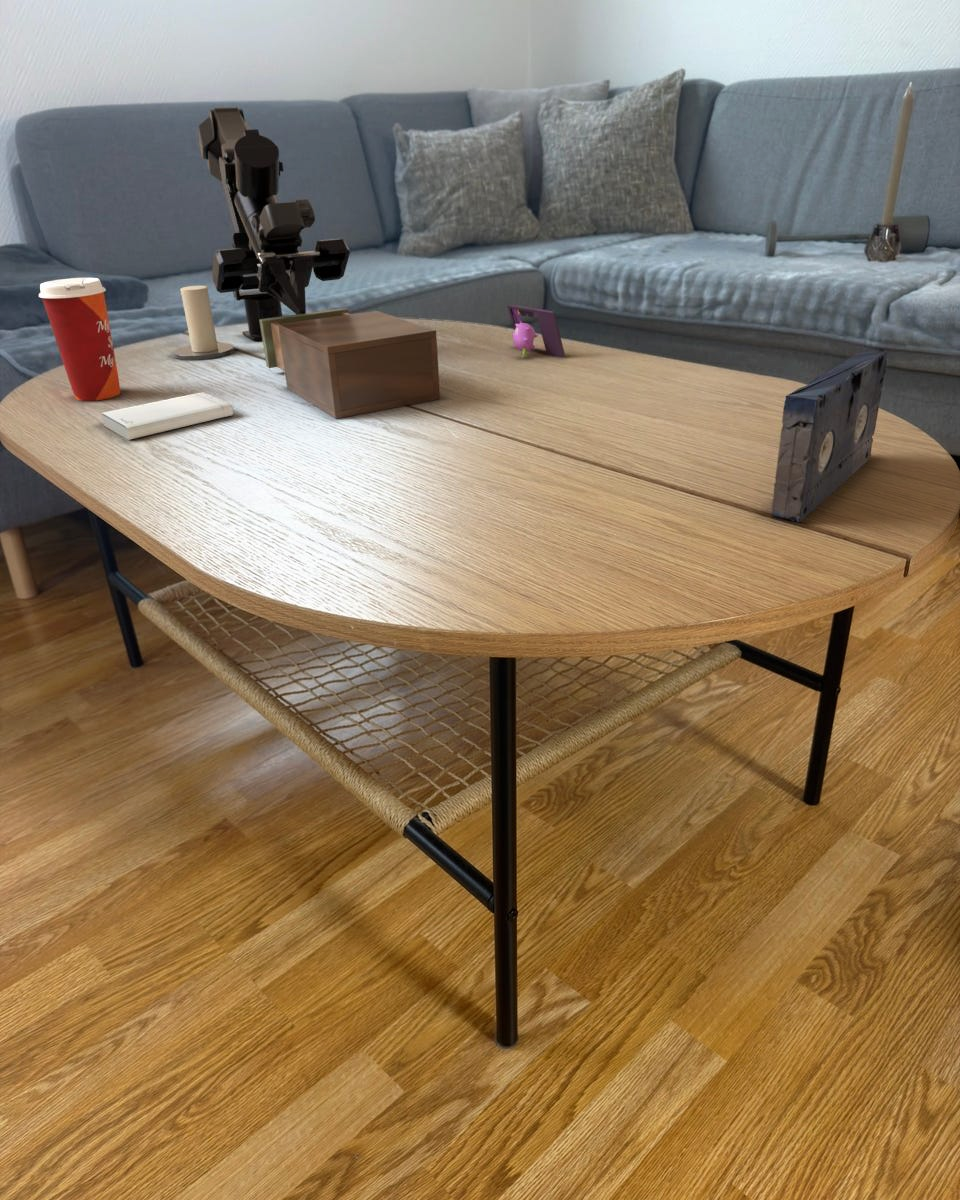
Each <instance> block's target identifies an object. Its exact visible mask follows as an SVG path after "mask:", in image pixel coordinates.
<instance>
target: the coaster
mask: <svg viewBox="0 0 960 1200" xmlns="http://www.w3.org/2000/svg"><path fill="white" fill-rule="evenodd" d="M217 345H218V349H217V350H215V351H211V352H203V353H197V352H193V351H192V347H191V344H189V345H184V346H180V347H178V348H176V349H174V350H173V351H172V356H173V358H175V359H178V360H183V361H184V360H185V361H200V360H209V359H217V358H222V357H226V356H229V355H230V354H233V353H234V352H235V346H234V345H233V344H230V343H227V342H217Z"/></svg>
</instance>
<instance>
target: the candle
mask: <svg viewBox="0 0 960 1200" xmlns="http://www.w3.org/2000/svg"><path fill="white" fill-rule="evenodd" d="M208 289H209V288H208V286H207V285H189V286H184V287H183V286H182V287H181V288H180V294H181V299H182V305H183V310H184V314H185V315H184V316H185V320H186V325H187V330H188V336H189V341H190V345H191V347H192V351H193V352H197V353H203V352H211V351H215V350H217V349H218V345H217V343H218V341H217V333H216V328H215V324H214V317H213V312H212V306H211V302H210V300H211V299H210V294H209V290H208Z"/></svg>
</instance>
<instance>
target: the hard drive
mask: <svg viewBox="0 0 960 1200" xmlns="http://www.w3.org/2000/svg"><path fill="white" fill-rule="evenodd" d="M233 415H234V408H233V405H232V404H231V403H230V402H228V401H226V400H224V399H221V398H219V397H217V396H214V395H212V394H209V393H206V392H203V391H201V392H197V393H191V394H186V395H183V396H177V397H172V398H168V399H163V400H162V399H161V400H157V401H153V402H149V403H148V402H147V403H144V404H139V405H134V406H129V407H124V408H118V409H114V410H108V411H105V412H101V413H100V417H101V421H102V425H103V426H105V427H106V428H108V429H110V430H111V431H112V432H115V433H116V434H118V435H119V436H122V437H123V438H124V439H126V440H128V441H129V440H134V439H137V438H142V437H147V436H151V435H155V434H159V433H164V432H167V431H172V430H177V429H180V428H183V427H189V426H192V425H196V424H201V423H205V422H209V421H214V420H218V419H222V418H226V417H231V416H233Z"/></svg>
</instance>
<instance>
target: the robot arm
mask: <svg viewBox="0 0 960 1200" xmlns="http://www.w3.org/2000/svg"><path fill="white" fill-rule="evenodd" d="M208 111H209V112H208V114H209V116H208V117H207V118H206V119H204V121H202V123H200V124H199V125H198V145H199V151H200V155H201V160H202V161H206V164H207V167H208V168H207V169H208V171H209V174H210V175H212V176H213V177H214V178H215V179H216V180H218V181H219V182H221V183H222V187H223V191H224V194H225V198H226V203H227V207H228V210H229V214H230V217H231V222H232V226H233V229H234V233H233V235H232V244H231V248H223V249H216V251H214V254H213V260H212V272H211V275H212V276H211V277H212V281H213V282H212V283H213V284H214V286H215V289H216V292H218V293H220V294H225V293H232V295H233V298H234V299H235V300H236V301H237V302H238V301H242V300H243V303H244V309H245V316H246V321H247V328H248V330H244V331H242V335H243V336H245V337H247V338H248V339H250V340H252V341H263V340H262V333H261V327H260V319H267V318H275V317H282V316H283V309H282V304H283V305H284V306H285V307H287V309H289V310H290V311H292V312H293V313H294V315H297V314H305V313H307V307H306V305H307V304H306V303H307V302H306V288H308V287H309V285H310V282H311V278H312V273H313V274H314V276H315V278H316V279H318V280H320V281H322V282H329V281H335V280H336V281H337V280H340V279H342V278H343V277H344V276H345V272H346V268H347V264H348V261H349V257H350V254H351V251H350V248H349V246H348V244H347V242H346V241H345V240H344V239H343V238H330V239H319V240H316V245H315V249H314V250H307V251H299V249H298V248H299V247H302V244H303V239H302V236H301V233H302V231H303V230H305V229H306V228H308V229H309V228H312V226H313V224H314V223H315V221H316V215H315V212H314V207H313V206H312V204H311V202H310V201H309V199H307V198H306V199H296V200H295V201H291V202H278V200H277V198H276V195H277V196H278V193H279V189H280V186H279V185H280V177H281V173H283V172H284V165H283V161H280V149H279V147H278V145H276V144H275V142H274V141H273V140H272V139H270V138H268V137H267V136H263V135H261V134H260V131H259V129H258V128H257V129H254V128H252V126H251V123H250V122H249V121H247V119H245V115H244V111H243V108H238V106H219V107H218V106H217V107H213V108H212V109H209V110H208ZM241 290H242V291H241Z"/></svg>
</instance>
